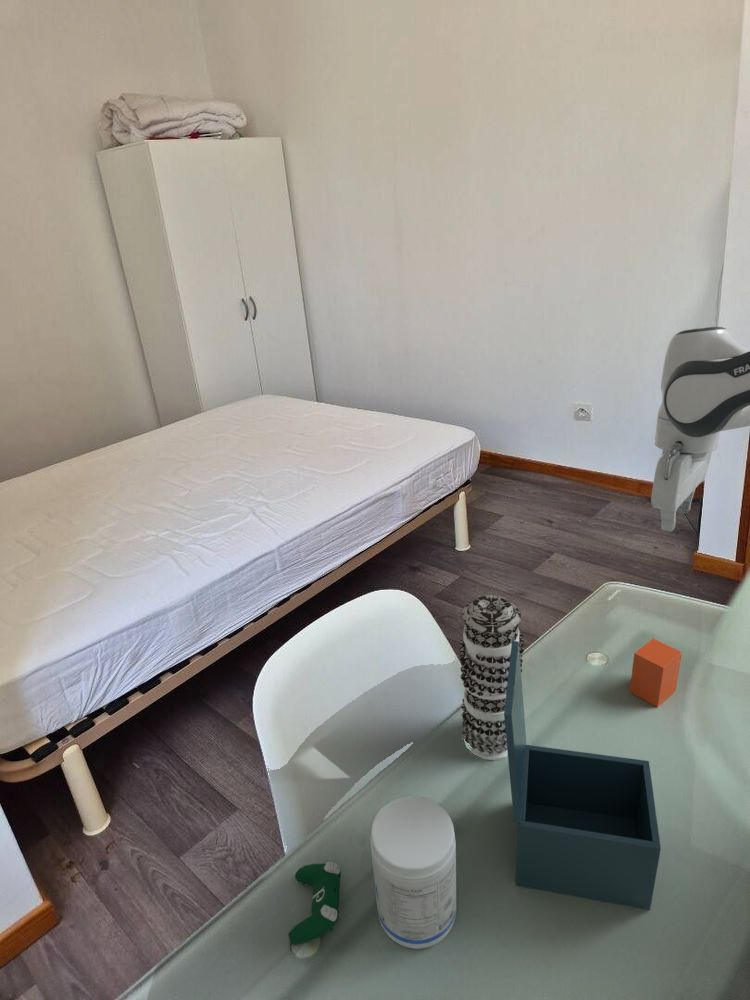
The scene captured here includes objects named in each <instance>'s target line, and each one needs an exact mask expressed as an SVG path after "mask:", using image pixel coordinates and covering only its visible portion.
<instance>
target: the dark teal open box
mask: <svg viewBox="0 0 750 1000" xmlns="http://www.w3.org/2000/svg"><path fill="white" fill-rule="evenodd" d="M516 825H517V829H516V852H515V853H516V854H515V855H516V856H515V877H514V878H515V882H514V885H515V886H517V887H523V888H528V889H534V890H539V891H543V892H550V893H555V894H560V895H566V896H572V897H577V898H583V899H587V900H593V901H600V902H605V903H608V904H609V903H610V904H616V905H620V906H625V907H632V908H637V909H643V910H648V911H650V910H651V907H652V902H653V901H652V900H653V895H654V889H655V883H656V879H657V873H658V866H659V861H660V857H661V850H662V847H661V839H660V832H659V825H658V818H657V810H656V803H655V796H654V788H653V781H652V774H651V766H650V761H649V760H643V759H636V758H629V757H623V756H622V757H621V756H616V755H615V756H614V755H606V754H601V753H600V754H599V753H592V752H584V751H578V750H577V751H576V750H569V749H562V748H555V747H547V746H538V745H531V744H526V754H525V769H524V784H523V800H522V815H521V823H518V822H517V823H516Z"/></svg>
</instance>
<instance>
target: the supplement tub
mask: <svg viewBox="0 0 750 1000" xmlns="http://www.w3.org/2000/svg"><path fill="white" fill-rule="evenodd" d="M456 845H457V844H456V834H455V829H454V823H453V820H452V818H451V817H450V815H449V813H448V811H446V810H445V808H444V807H443V806H442V805H440V804H439V803H437V802H436V801H434V800H432V799H430V798H427V797H423V796H417V795H408V796H407V795H406V796H401V797H398V798H394V799H393V800H391V801H390V802H387V803H386V804H385V805H383V806H382V807H381V808H380V809H379V810H378V812H377V813H376V815H375V816H374V818H373V821H372V824H371V828H370V853H371V861H372V862H371V863H372V871H373V880H374V890H375V901H376V910H377V917H378V920H379V923H380V925H381V927H382V929H383V931H384V932H385V933H386V935H387V936H388V937H389V938H390V939H391V940H392V941H393V942H395V943H397V944H398V945H400V946H402V947H405V948H409V949H414V950H415V949H417V950H418V949H420V950H421V949H427V948H430V947H433V946H435V945H437V944H438V943H440V942H441V941H442V940H444V939H445V938H446V937H447V936H448V934H449V933H450V931H452V928H453V926H454V925H455V920H456V917H457V847H456Z"/></svg>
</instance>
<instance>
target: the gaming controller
mask: <svg viewBox="0 0 750 1000" xmlns="http://www.w3.org/2000/svg"><path fill="white" fill-rule="evenodd" d="M341 874H342V872H341V867H340V866H339V864H337V863H335V862H334V861H333V862H332V861H326V862H324V863H312V864H306V865H303V866H301V867H299V868H298V870H297V871H296V872H295V875H294V878H295V880H296V881H297V882H298V881H299V882H301V883H303V884H302V885H304V884H307V885H306V886H309V885H310V886H311V887H313V891H312V901H311V909H310V911H311V912H310V916H308V917H307V918H305V919H303V920H302V921H300V922H299V923H297V924H296V925H294V927H292V928H291V930H290V931H289V932H288V934H287V936H288V939H289V942H290V945H299V944H300V945H301V944H305V943H309V942H312V941H314V940H316V939H319V938H321V937H323V936H325V935H326V934H327V933H329V932H332V930H333V929H334V927H335V925H336V924H337V922H338V919H339V912H340V911H339V906H340V893H341V892H340V891H341V877H342V875H341ZM299 882H298V883H299ZM301 883H300V884H301Z"/></svg>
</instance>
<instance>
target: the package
mask: <svg viewBox="0 0 750 1000" xmlns="http://www.w3.org/2000/svg"><path fill="white" fill-rule="evenodd" d="M682 655H683V652H682V651H680V650H679V649H676V648H675V647H672V646H670V645H668V644H666V643H663V642H662V641H660V640H657V639H655V638H651V639H650V640H649V641H648V642H647V643H646V644H644V645H643V646H642V647H640V648H639V649H637V651H635V652H634V654H633V661H632V670H631V678H630V685H629V693H631V694H632V695H634V696H636V697H638V698H639V699H641V700H644V701H645V702H646V703H648V704H650V705H652V706H654V707H656V708H659V707H660V706H661V705H662V704H663V703H664V702H665V701H667V700H668V698H670V697H671V696H672V695H673V694H674V693H675V692H676V690H677V686H678V679H679V673H680V668H681V661H682Z"/></svg>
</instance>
